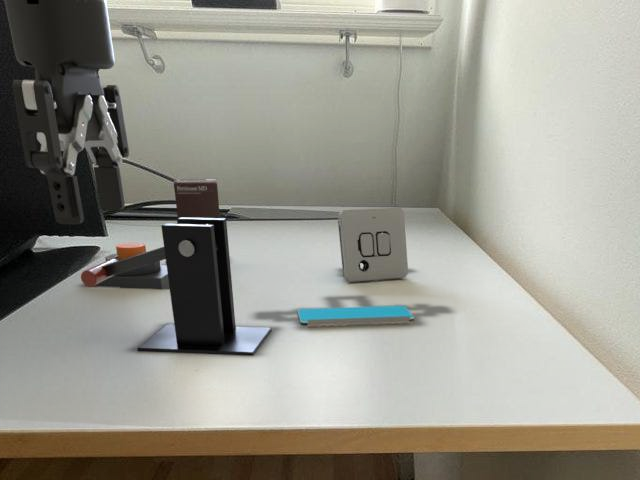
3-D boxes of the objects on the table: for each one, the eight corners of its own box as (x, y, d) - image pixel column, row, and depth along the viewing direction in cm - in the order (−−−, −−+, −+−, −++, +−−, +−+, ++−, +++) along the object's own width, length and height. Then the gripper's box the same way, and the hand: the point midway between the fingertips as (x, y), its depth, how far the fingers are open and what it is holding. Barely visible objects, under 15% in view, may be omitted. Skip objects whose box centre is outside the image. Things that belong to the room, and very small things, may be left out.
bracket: (138, 360, 62) (116, 227, 56) (168, 335, 69) (151, 214, 63) (253, 364, 61) (243, 229, 55) (272, 339, 68) (265, 216, 62)
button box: (86, 293, 84) (80, 261, 82) (113, 279, 91) (108, 249, 89) (163, 296, 83) (158, 263, 81) (183, 281, 90) (180, 251, 88)
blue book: (426, 303, 81) (427, 290, 80) (453, 332, 70) (454, 316, 70) (262, 309, 78) (261, 294, 77) (264, 339, 68) (263, 323, 67)
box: (183, 272, 96) (172, 181, 90) (183, 266, 99) (172, 178, 93) (225, 270, 97) (217, 180, 91) (224, 264, 101) (216, 178, 95)
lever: (87, 293, 61) (75, 267, 59) (113, 280, 65) (102, 256, 64) (206, 257, 58) (196, 229, 57) (224, 246, 63) (214, 220, 62)
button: (113, 261, 84) (111, 247, 83) (125, 256, 87) (122, 242, 86) (140, 262, 84) (138, 248, 83) (151, 257, 87) (149, 243, 86)
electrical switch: (346, 284, 90) (343, 210, 86) (334, 279, 94) (331, 209, 90) (409, 279, 93) (409, 208, 89) (394, 275, 97) (394, 207, 93)
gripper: (55, 8, 58) (88, 205, 66) (-47, -19, 46) (9, 227, 54) (137, 8, 58) (161, 207, 66) (56, -19, 45) (98, 230, 53)
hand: (93, 216), depth 60 cm, fingers open, 8 cm apart
